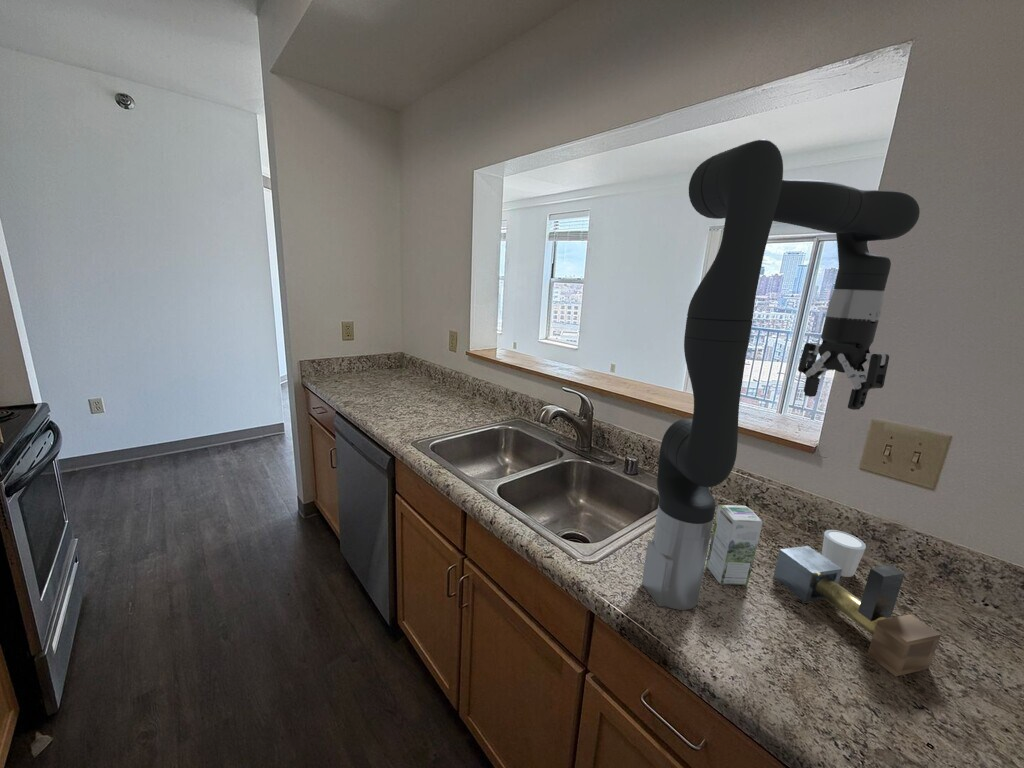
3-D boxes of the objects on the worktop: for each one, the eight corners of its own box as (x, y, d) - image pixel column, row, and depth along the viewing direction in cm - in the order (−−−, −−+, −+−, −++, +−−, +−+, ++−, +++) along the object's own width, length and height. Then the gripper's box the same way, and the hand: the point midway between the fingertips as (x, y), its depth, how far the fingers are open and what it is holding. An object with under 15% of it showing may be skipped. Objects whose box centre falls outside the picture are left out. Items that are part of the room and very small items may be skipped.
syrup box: (732, 566, 85) (745, 503, 82) (749, 586, 79) (763, 520, 76) (705, 565, 85) (717, 502, 82) (720, 586, 79) (733, 519, 76)
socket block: (867, 653, 66) (877, 620, 64) (899, 646, 67) (910, 614, 66) (895, 676, 62) (907, 641, 60) (928, 668, 64) (940, 634, 62)
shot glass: (814, 566, 86) (821, 537, 85) (820, 553, 91) (827, 525, 90) (855, 584, 82) (864, 553, 80) (859, 569, 87) (868, 539, 85)
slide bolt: (811, 595, 76) (826, 540, 73) (830, 592, 77) (845, 538, 74) (889, 655, 64) (909, 592, 61) (909, 651, 65) (931, 588, 62)
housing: (773, 577, 83) (779, 549, 81) (801, 572, 84) (807, 545, 83) (804, 602, 76) (812, 573, 74) (834, 597, 78) (842, 568, 76)
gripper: (799, 312, 80) (782, 392, 83) (878, 319, 66) (854, 414, 70) (830, 313, 81) (811, 392, 85) (912, 320, 68) (886, 413, 72)
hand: (830, 402), depth 78 cm, fingers open, 8 cm apart
